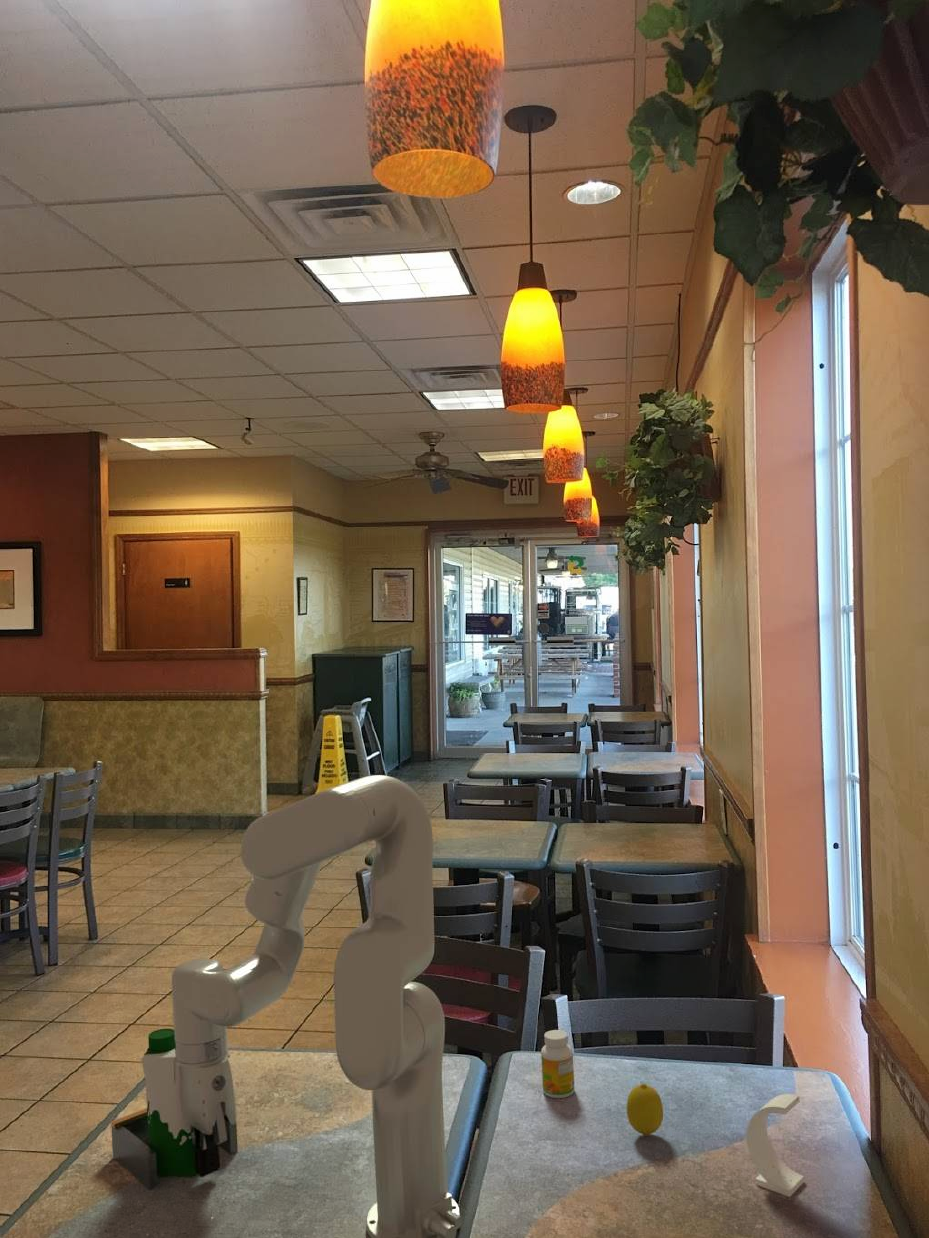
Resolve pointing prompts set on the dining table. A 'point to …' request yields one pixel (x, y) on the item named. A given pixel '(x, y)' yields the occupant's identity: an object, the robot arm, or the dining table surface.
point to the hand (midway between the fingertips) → (207, 1171)
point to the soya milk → (166, 1108)
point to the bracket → (147, 1146)
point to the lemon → (644, 1109)
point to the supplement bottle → (557, 1065)
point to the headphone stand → (771, 1149)
